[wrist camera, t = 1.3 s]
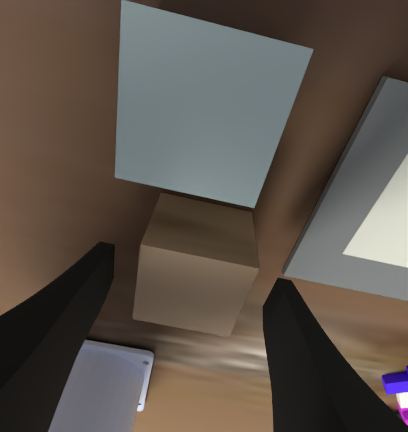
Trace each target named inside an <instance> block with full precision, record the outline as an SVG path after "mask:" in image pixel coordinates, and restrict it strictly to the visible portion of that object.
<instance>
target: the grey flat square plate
mask: <svg viewBox="0 0 408 432" xmlns="http://www.w3.org/2000/svg"><path fill="white" fill-rule="evenodd" d="M282 272H283V276H288V277H293V278H298V279H302V280H307V281H312V282H317V283H322V284H327V285H332V286H337V287H342V288H347V289H352V290H357V291H362V292H367V293H372V294H377V295H382V296H387V297H392V298H396V299H401V300H406V301H408V82H405V81H401V80H397V79H393V78H389V77H385V76H382V78H381V80H380V82H379V84H378V86H377V88H376V89H375V91H374V93H373V95H372V97H371V99H370V101H369V103H368V105H367V107H366V109H365V111H364V113H363V115H362V117H361V119H360V120H359V122H358V124H357V126H356V128H355V130H354V132H353V134H352V136H351V138H350V140H349V142H348V144H347V146H346V148H345V150H344V151H343V153H342V155H341V157H340V159H339V161H338V163H337V165H336V167H335V169H334V171H333V173H332V175H331V177H330V179H329V181H328V182H327V184H326V186H325V188H324V190H323V192H322V194H321V196H320V198H319V200H318V202H317V204H316V206H315V208H314V210H313V212H312V213H311V215H310V217H309V219H308V221H307V223H306V225H305V227H304V229H303V231H302V233H301V235H300V237H299V239H298V241H297V243H296V244H295V246H294V248H293V250H292V252H291V254H290V256H289V258H288V260H287V262H286V264H285V266H284V268H283V270H282Z"/></svg>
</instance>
